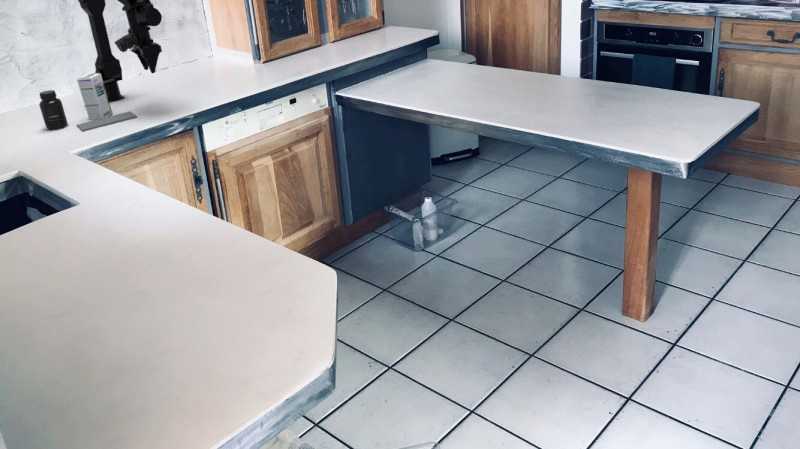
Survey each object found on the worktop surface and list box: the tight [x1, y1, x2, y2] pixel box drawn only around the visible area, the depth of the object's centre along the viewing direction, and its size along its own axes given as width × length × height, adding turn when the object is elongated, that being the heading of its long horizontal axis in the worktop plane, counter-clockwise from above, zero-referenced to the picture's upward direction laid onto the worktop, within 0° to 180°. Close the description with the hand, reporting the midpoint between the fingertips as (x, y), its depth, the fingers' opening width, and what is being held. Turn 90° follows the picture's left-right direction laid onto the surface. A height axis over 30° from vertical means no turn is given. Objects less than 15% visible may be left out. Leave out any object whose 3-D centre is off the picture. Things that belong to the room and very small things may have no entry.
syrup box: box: [76, 72, 113, 121], centre depth 247 cm, size 6×6×14 cm
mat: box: [76, 110, 138, 132], centre depth 244 cm, size 8×18×1 cm, turn 125°
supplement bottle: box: [38, 89, 69, 131], centre depth 242 cm, size 7×7×12 cm
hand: (149, 71), depth 247 cm, fingers open, 7 cm apart
